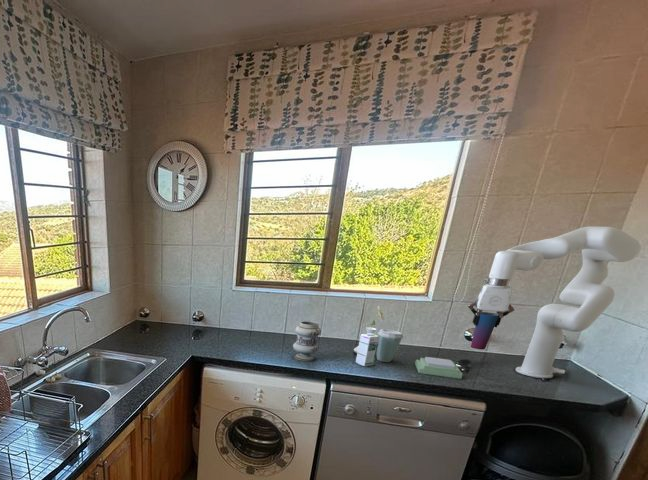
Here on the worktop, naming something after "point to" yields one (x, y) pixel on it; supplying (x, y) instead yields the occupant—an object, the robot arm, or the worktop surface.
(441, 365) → the scale pan
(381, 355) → the disposable coffee cup
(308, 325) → the apothecary jar
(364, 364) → the syrup box
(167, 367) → the worktop surface
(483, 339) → the cup
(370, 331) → the flower in vase
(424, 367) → the scale
